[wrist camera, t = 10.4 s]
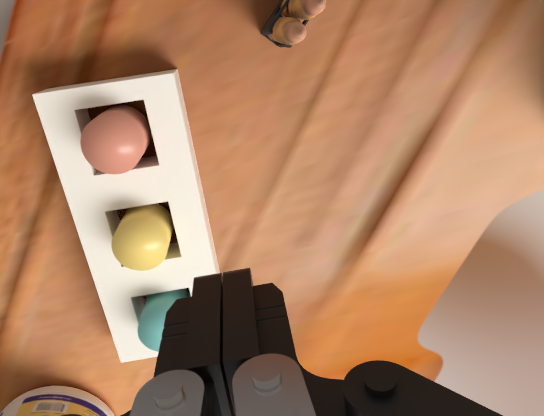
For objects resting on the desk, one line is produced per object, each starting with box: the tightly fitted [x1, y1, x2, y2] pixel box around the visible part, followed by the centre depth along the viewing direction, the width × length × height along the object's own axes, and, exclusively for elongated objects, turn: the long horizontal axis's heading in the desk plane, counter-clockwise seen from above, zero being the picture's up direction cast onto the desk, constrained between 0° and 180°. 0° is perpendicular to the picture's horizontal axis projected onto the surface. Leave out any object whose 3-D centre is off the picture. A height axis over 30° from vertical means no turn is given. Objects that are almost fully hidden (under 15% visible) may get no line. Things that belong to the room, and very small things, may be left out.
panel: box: [32, 69, 220, 363], centre depth 39 cm, size 10×24×3 cm, turn 8°
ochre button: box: [111, 203, 173, 271], centre depth 37 cm, size 4×4×4 cm
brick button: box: [80, 105, 151, 174], centre depth 34 cm, size 4×4×4 cm
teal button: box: [137, 289, 191, 352], centre depth 40 cm, size 4×4×4 cm
